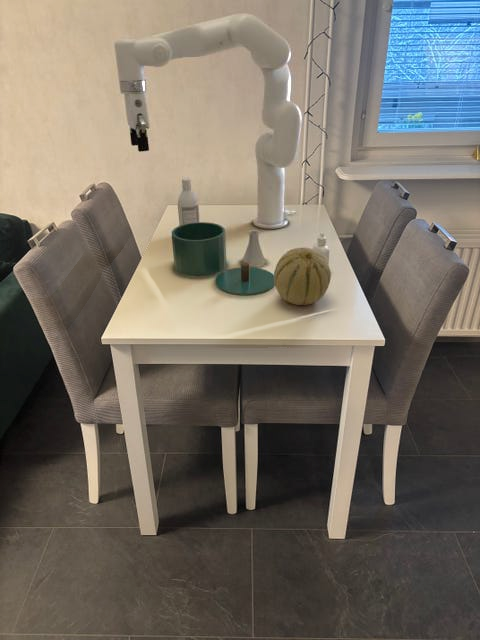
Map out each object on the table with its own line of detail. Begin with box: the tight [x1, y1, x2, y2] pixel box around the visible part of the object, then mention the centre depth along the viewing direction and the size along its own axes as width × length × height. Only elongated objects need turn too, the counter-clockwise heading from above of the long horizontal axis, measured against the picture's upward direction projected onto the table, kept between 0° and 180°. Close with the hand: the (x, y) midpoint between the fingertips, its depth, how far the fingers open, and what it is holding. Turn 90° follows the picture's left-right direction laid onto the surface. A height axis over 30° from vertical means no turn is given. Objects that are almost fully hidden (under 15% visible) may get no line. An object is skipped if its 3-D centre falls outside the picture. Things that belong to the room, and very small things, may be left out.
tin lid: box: [214, 262, 276, 296], centre depth 140 cm, size 17×17×6 cm
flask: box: [242, 229, 267, 267], centre depth 151 cm, size 7×7×10 cm
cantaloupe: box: [273, 247, 332, 306], centre depth 128 cm, size 15×15×15 cm
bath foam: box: [177, 177, 200, 226], centre depth 169 cm, size 7×7×20 cm
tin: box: [171, 221, 227, 278], centre depth 149 cm, size 16×16×12 cm
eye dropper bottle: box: [312, 232, 330, 265], centre depth 144 cm, size 4×6×12 cm
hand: (140, 148), depth 154 cm, fingers open, 9 cm apart
